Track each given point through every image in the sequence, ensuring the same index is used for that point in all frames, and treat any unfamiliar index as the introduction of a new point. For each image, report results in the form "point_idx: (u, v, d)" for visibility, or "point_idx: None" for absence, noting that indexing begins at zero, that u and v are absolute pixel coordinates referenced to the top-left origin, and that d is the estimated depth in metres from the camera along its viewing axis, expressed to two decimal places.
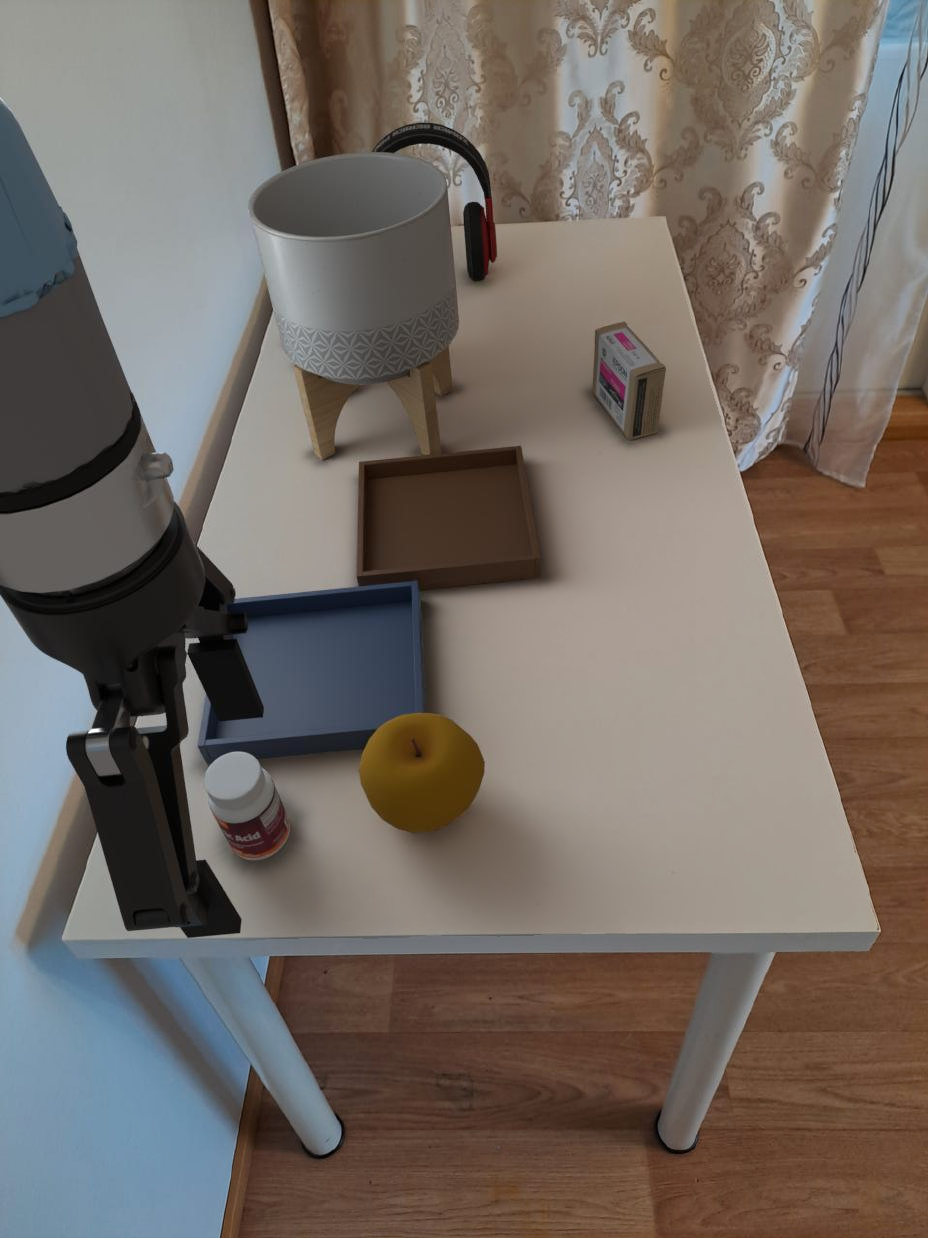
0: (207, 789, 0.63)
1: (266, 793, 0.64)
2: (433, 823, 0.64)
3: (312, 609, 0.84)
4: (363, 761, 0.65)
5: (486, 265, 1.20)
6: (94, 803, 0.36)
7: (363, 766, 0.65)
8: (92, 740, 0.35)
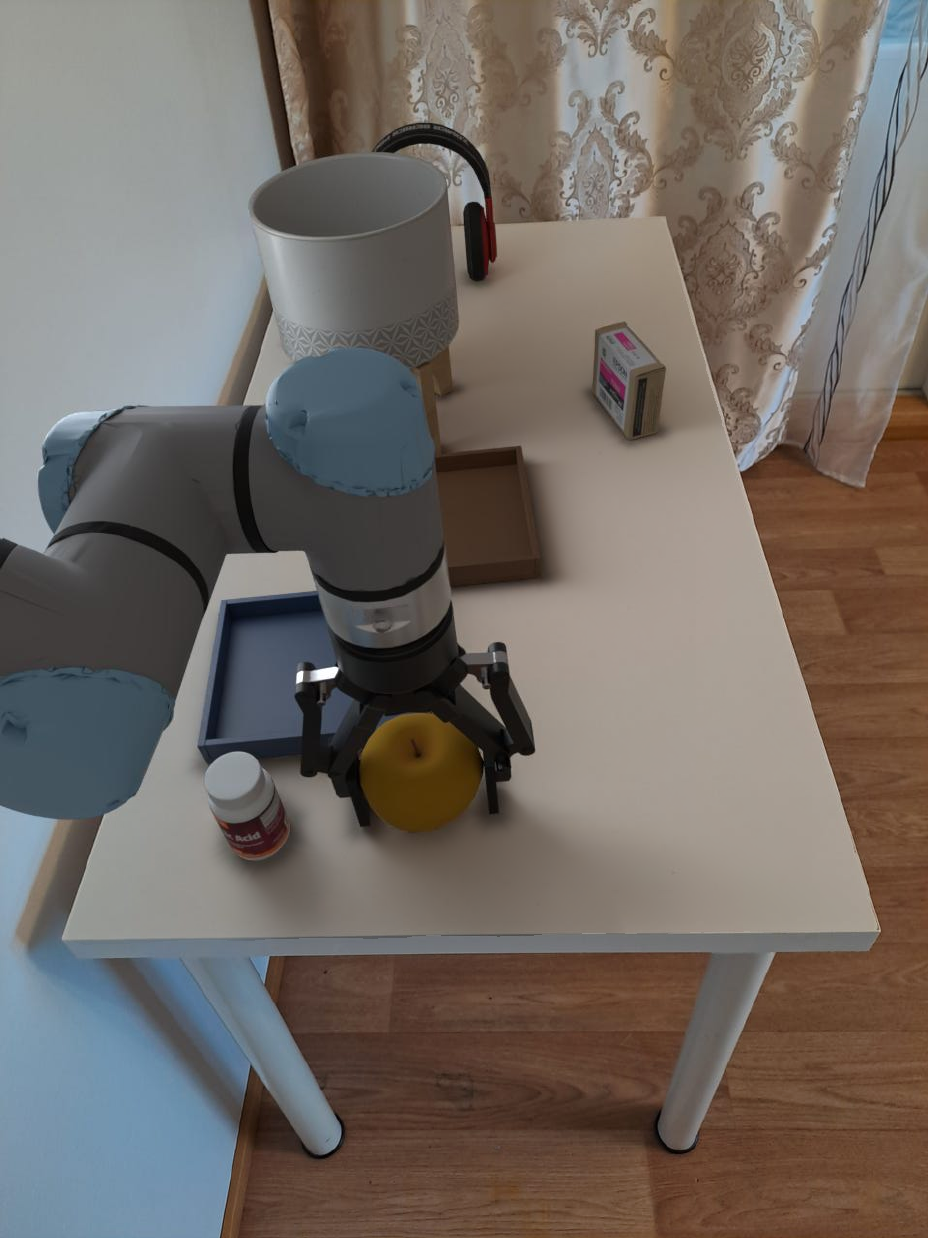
0: (207, 789, 0.63)
1: (266, 793, 0.64)
2: (432, 824, 0.64)
3: (312, 609, 0.84)
4: (362, 761, 0.65)
5: (486, 265, 1.20)
6: None
7: (362, 766, 0.65)
8: (299, 675, 0.57)
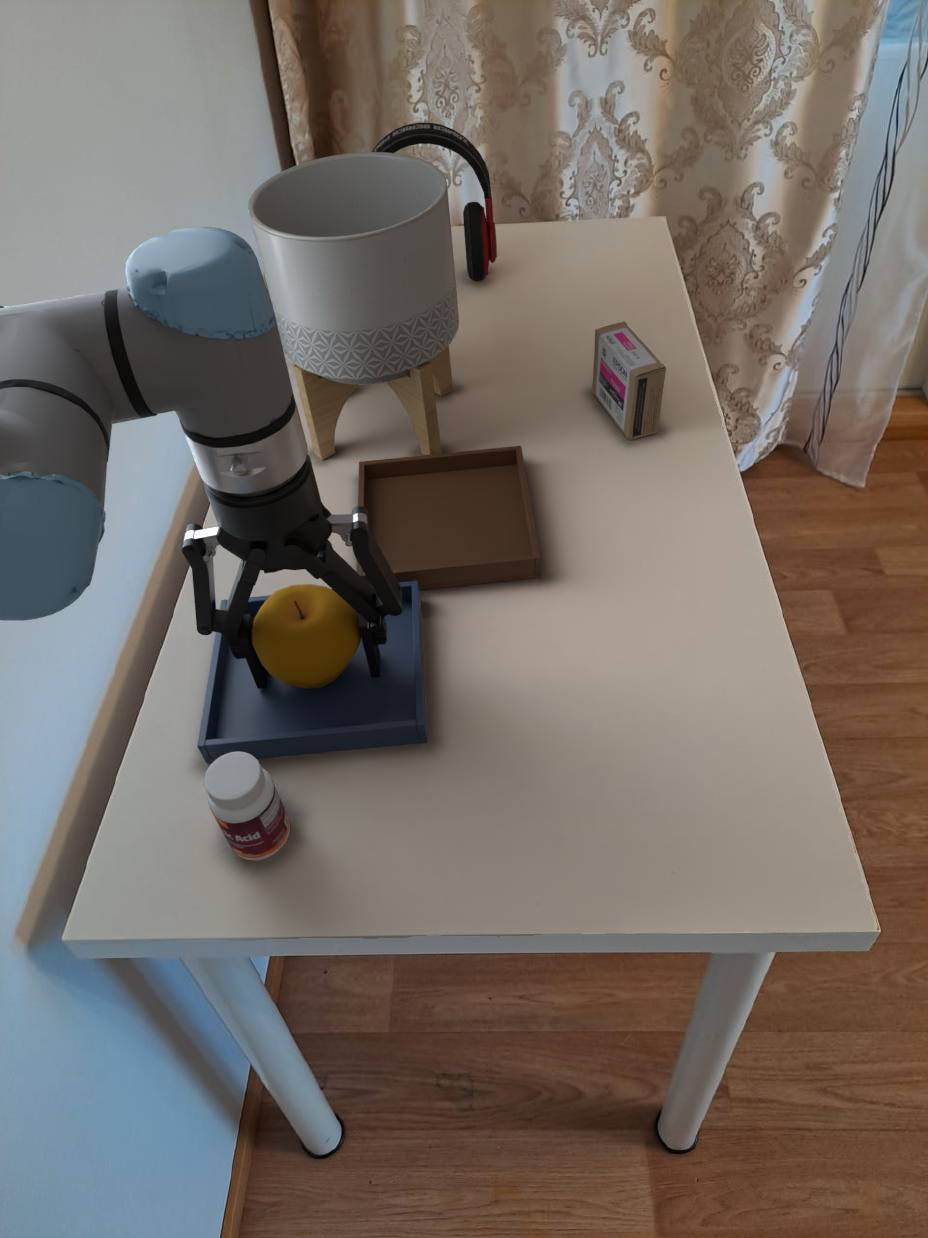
0: (207, 789, 0.63)
1: (266, 793, 0.64)
2: (313, 675, 0.73)
3: None
4: (254, 623, 0.74)
5: (486, 265, 1.20)
6: None
7: (253, 627, 0.74)
8: (187, 533, 0.67)
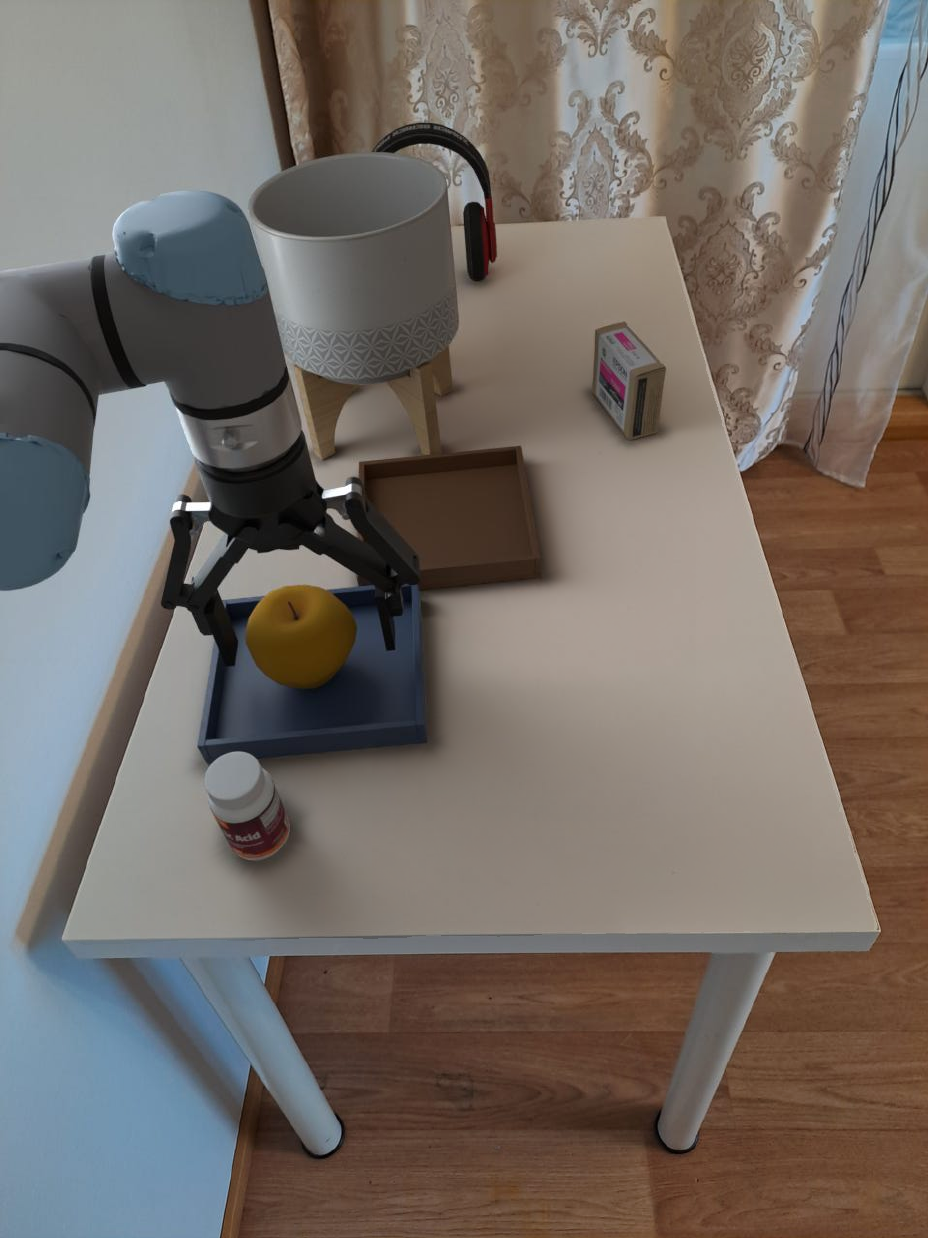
0: (207, 789, 0.63)
1: (266, 793, 0.64)
2: (307, 676, 0.73)
3: None
4: (248, 624, 0.74)
5: (486, 265, 1.20)
6: None
7: (247, 627, 0.74)
8: (176, 504, 0.64)
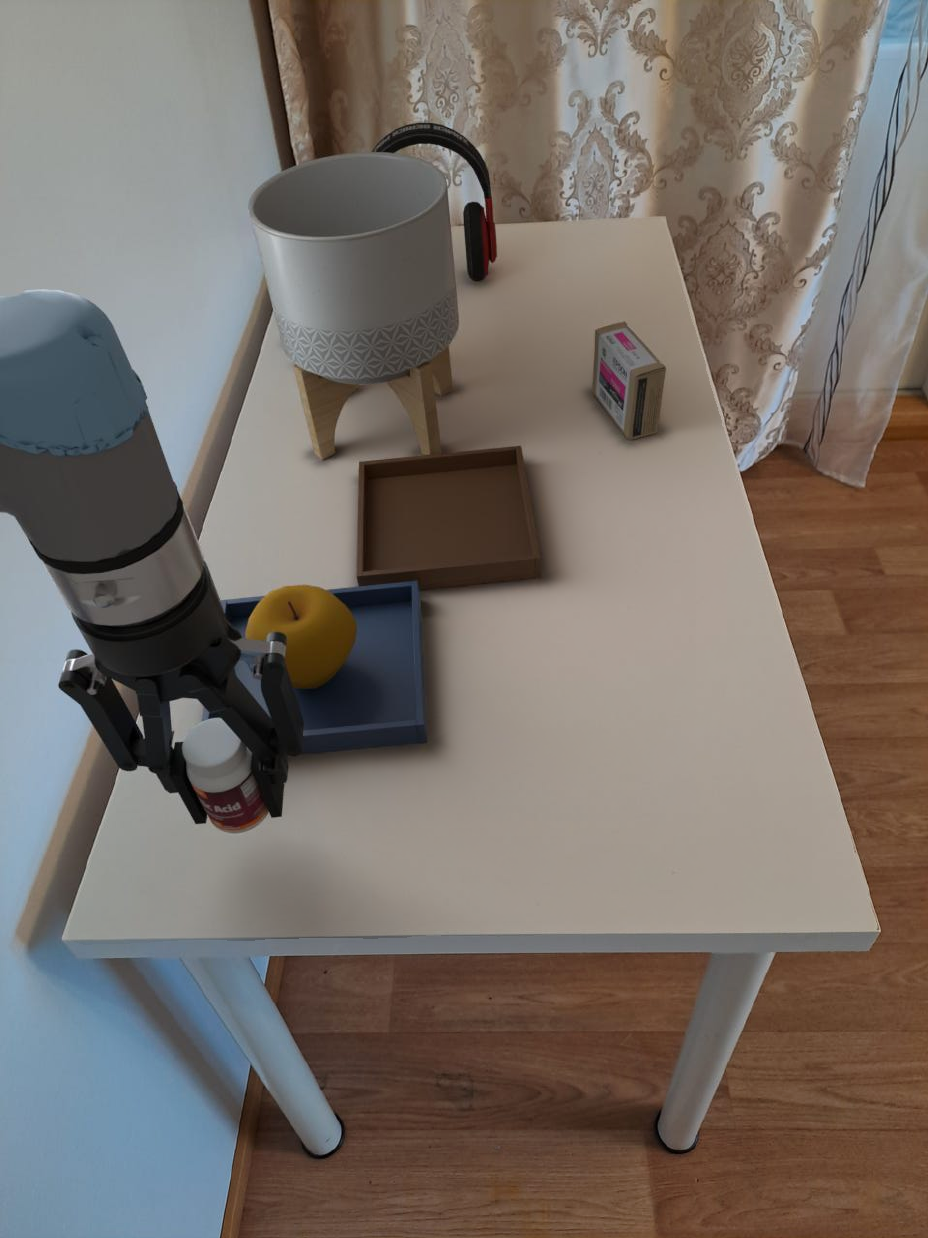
0: (185, 756, 0.60)
1: (247, 762, 0.61)
2: (307, 676, 0.73)
3: None
4: (248, 624, 0.74)
5: (486, 265, 1.20)
6: None
7: (247, 627, 0.74)
8: (65, 664, 0.54)
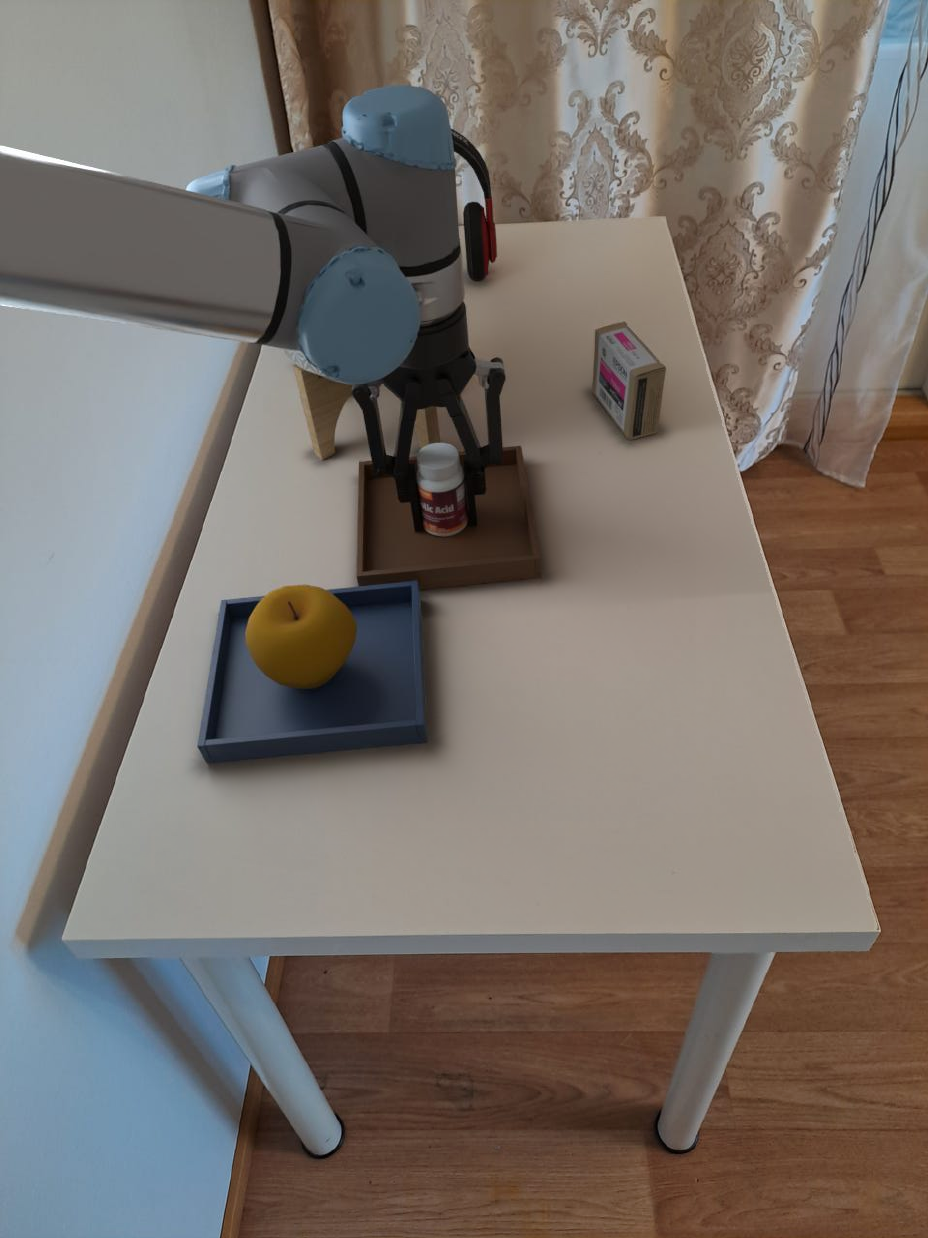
0: (420, 463, 0.84)
1: (460, 473, 0.86)
2: (307, 676, 0.73)
3: None
4: (248, 624, 0.74)
5: (486, 265, 1.20)
6: None
7: (247, 627, 0.74)
8: None
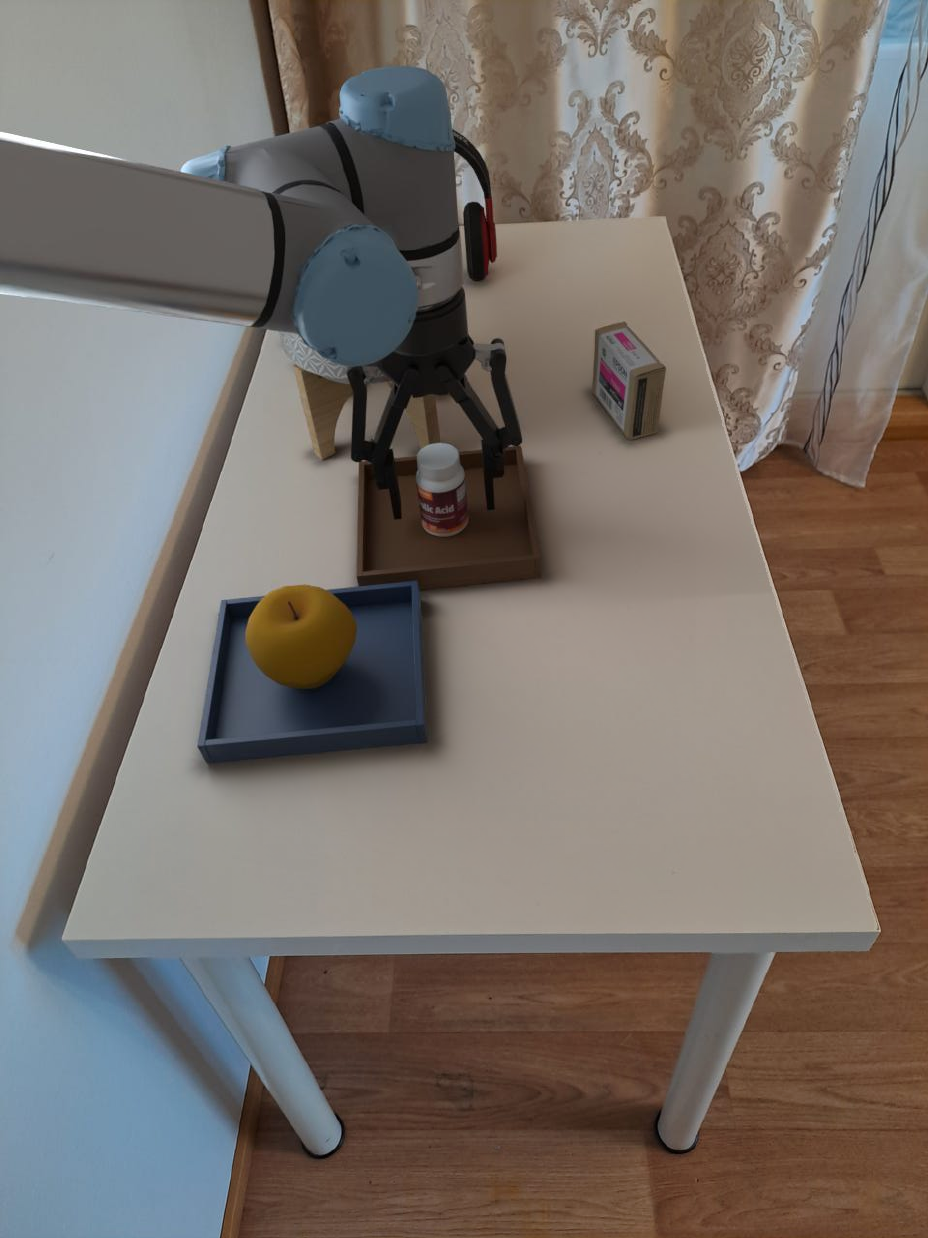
0: (420, 463, 0.84)
1: (461, 473, 0.86)
2: (307, 676, 0.73)
3: None
4: (248, 624, 0.74)
5: (486, 265, 1.20)
6: None
7: (247, 627, 0.74)
8: None
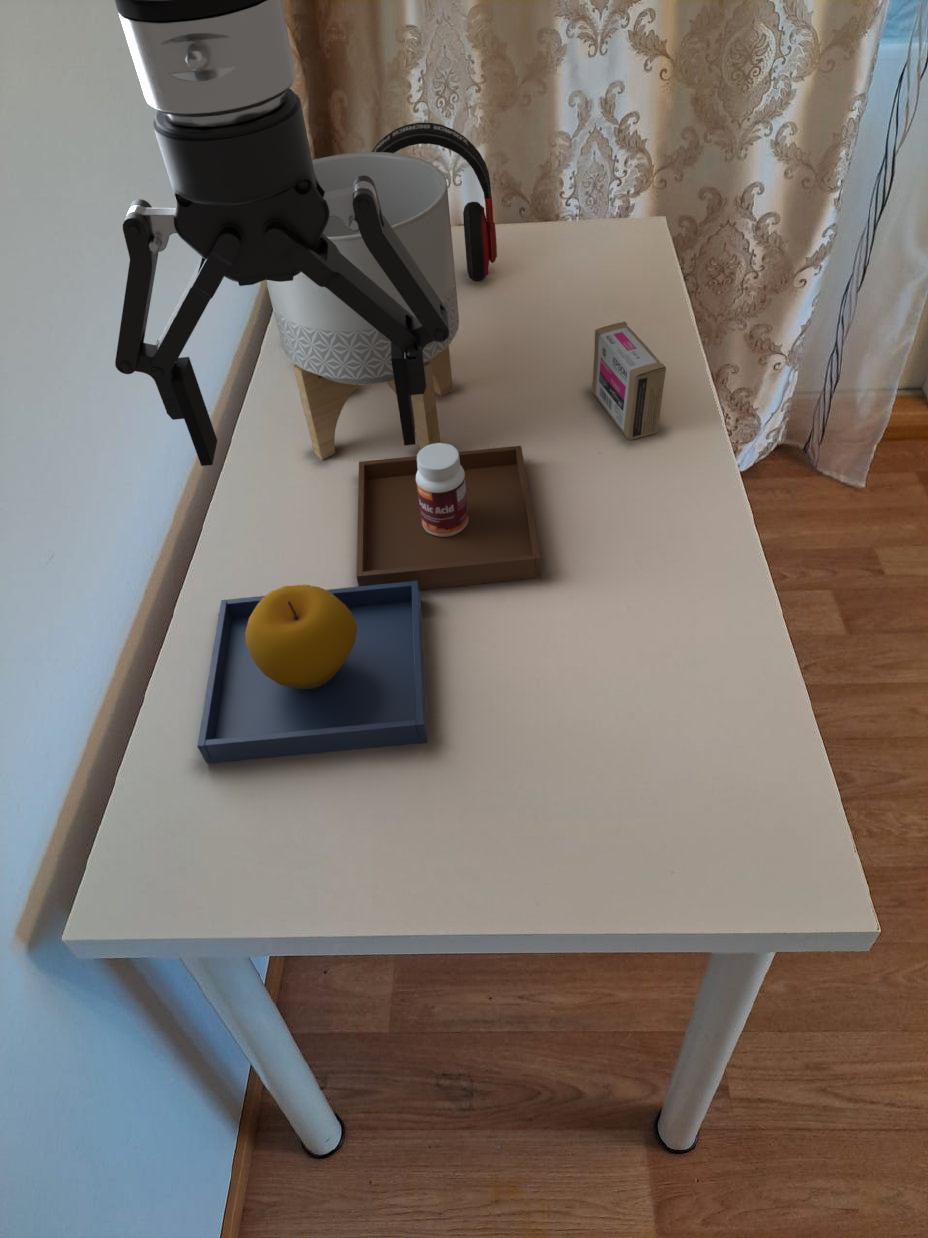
0: (420, 463, 0.84)
1: (461, 473, 0.86)
2: (307, 676, 0.73)
3: None
4: (248, 624, 0.74)
5: (486, 265, 1.20)
6: None
7: (247, 627, 0.74)
8: (132, 208, 0.49)
